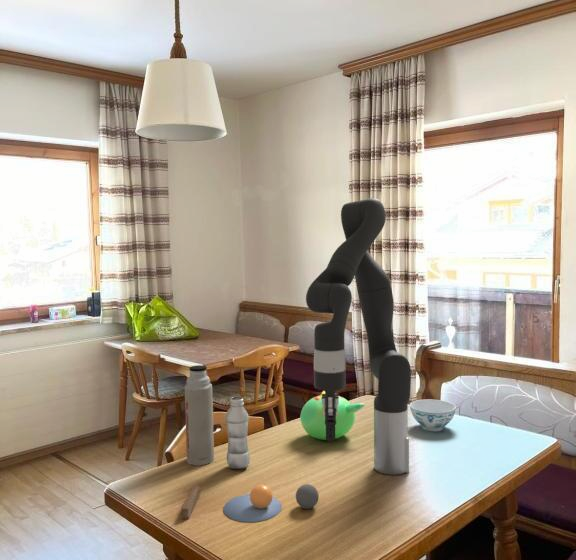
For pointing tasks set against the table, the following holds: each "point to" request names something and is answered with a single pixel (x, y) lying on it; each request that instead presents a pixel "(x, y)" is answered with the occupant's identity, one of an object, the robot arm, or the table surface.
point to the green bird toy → (316, 421)
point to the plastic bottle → (237, 434)
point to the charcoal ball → (307, 496)
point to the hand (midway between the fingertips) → (330, 439)
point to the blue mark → (250, 509)
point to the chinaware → (432, 413)
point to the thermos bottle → (199, 417)
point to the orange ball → (261, 496)
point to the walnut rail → (190, 502)
